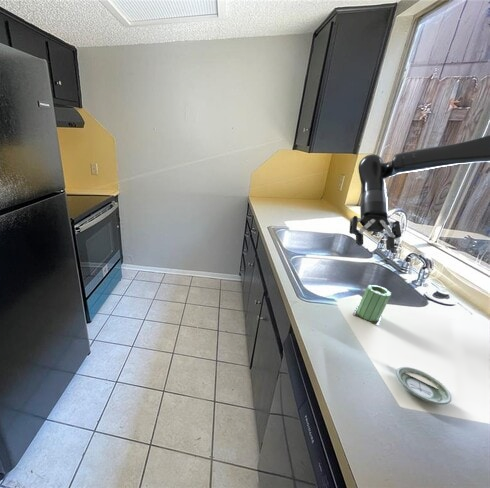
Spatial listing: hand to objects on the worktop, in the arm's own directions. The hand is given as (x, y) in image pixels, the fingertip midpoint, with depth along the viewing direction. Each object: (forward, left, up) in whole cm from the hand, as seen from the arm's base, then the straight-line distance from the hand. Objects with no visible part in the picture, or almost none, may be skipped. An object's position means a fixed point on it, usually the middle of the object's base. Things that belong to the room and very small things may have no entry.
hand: (375, 247), depth 86 cm
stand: (-5, +10, -21) cm, 24 cm away
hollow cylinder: (-5, +10, -20) cm, 23 cm away
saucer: (-19, +32, -21) cm, 43 cm away
